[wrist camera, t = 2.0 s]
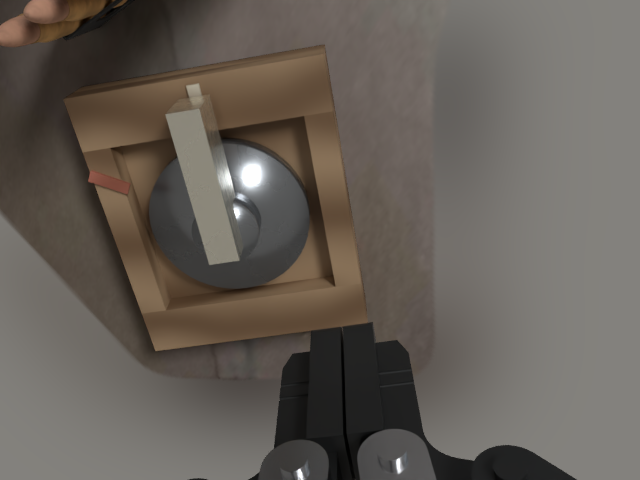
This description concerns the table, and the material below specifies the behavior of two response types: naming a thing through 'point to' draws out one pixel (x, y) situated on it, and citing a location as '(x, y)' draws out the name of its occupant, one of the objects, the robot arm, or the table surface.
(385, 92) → the table surface
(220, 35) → the table surface
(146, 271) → the wooden tray
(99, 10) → the ammunition clip
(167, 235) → the dial
